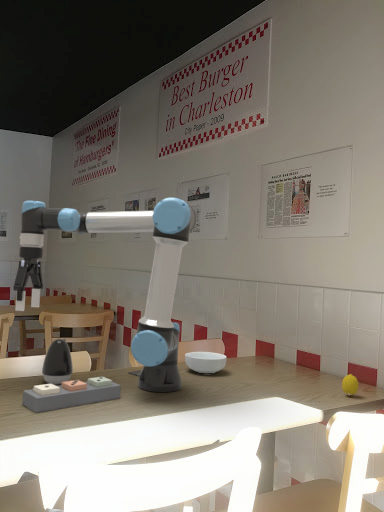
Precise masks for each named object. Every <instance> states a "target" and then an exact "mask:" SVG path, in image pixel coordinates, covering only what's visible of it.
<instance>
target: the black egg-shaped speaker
mask: <svg viewBox="0 0 384 512" xmlns="http://www.w3.org/2000/svg"><path fill="white" fill-rule="evenodd" d="M73 371H74V368H73V358H72V353H71V350H70V346H69V344H68V342H67V340H66V338H63V339H62V338H56V339H54V340H52V342H51V343H50V345H49V346H48V348H47V351H46V353H45V357H44V360H43V364H42V368H41V373H42V376H43V379H44V381H45V382H46V384H53V385H55V386H61V385H62V382H66V381H70V379H71V376H72V374H73Z"/></svg>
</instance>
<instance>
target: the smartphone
mask: <svg viewBox="0 0 384 512" xmlns="http://www.w3.org/2000/svg"><path fill="white" fill-rule="evenodd" d="M141 371H142V369H138V370H133V371H128V372H127V374H129V375H131V376H135V377H138V378H139V376H140V374H141Z"/></svg>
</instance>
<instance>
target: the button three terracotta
mask: <svg viewBox="0 0 384 512" xmlns="http://www.w3.org/2000/svg"><path fill="white" fill-rule="evenodd" d="M84 382H85V381H82V380H79V379H75V380H68V381H66V382H62V384H61V385H62V387H61V388H63V389H65V390H68V391H70V392H71V391H78V390H84V389H87V384H86V383H84Z"/></svg>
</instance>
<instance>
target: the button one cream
mask: <svg viewBox="0 0 384 512" xmlns="http://www.w3.org/2000/svg"><path fill="white" fill-rule="evenodd" d="M57 386H58V385H53V384H49V383H46V384H39V385H38V384H37V385H33V388H32V389H33V392H35V393H37V394H38V395H40V396H45V395H52V394H58V393H60V388H59V387H57Z"/></svg>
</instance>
